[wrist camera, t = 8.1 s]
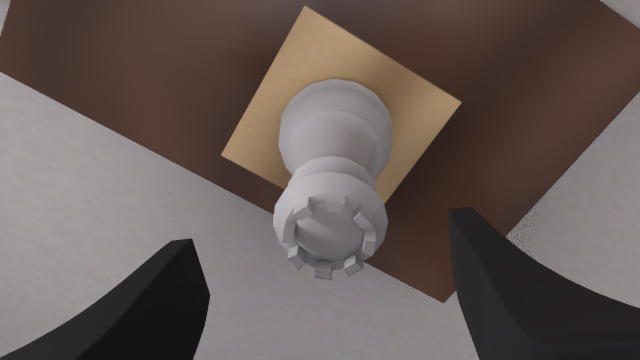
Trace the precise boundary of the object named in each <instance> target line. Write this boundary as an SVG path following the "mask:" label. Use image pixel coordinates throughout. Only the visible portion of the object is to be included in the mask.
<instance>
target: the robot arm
mask: <svg viewBox="0 0 640 360" xmlns="http://www.w3.org/2000/svg"><path fill="white" fill-rule="evenodd" d="M448 217H449V232H450V247H451V262H452V273H453V277H454V282H455V287H456V291H457V295H458V300H459V304H460V306H461V309H462V312H463V315H464V318H465V321H466V323H467V326H468V329H469V332H470V334H471V337H472V340H473V343H474V346H475V348H476V351H477V354H478V357H479V359H480V360H640V308H637V307H634V306H631V305H628V304H625V303H622V302H620V301H617V300H614V299H611V298H609V297H606V296H604V295H601V294H599V293H596V292H594V291H592V290H589V289H587V288H585V287H583V286H581V285H579V284H576V283H574V282H572V281H570V280H568V279H566V278H564V277H563V276H561V275H559V274H557V273H556V272H554V271H552V270H550V269H549V268H547V267H545V266H544V265H542V264H540V263H539V262H537V261H536V260H534V259H533V258H531V257H530V256H529V255H527V254H526V253H524V252H523V251H522V250H520V249H519V248H518V247H516V246H515V245H514V244H513V243H511V242H510V241H509V240H508V239H507V238H505V237H504V236H503V235H502V234H501V233H499V232H498V231H497V230H496V229H495V228H494V227H493V226H492V225H491V224H489V223H488V222H487V221H486V220H485V219H484V218H483V217H482V216H481V215H480V214H479V213H478V212H477V211H476V210H475V209H473V208H472V207H463V208H455V209H448ZM209 300H210V293H209V290H208V287H207V283H206V280H205V277H204V274H203V271H202V268H201V265H200V262H199V259H198V256H197V252H196V249H195V246H194V243H193V240H192V239H183V240H175V241H171V242H169V243H168V244H166V245H165V246H164V247H163V248H161V249H160V250H159V251H158V252H156V253H155V254H154V255H153V256H152V257H151V258H149V259H148V260H147V261H146V262H145V263H144V264H142V265H141V266H140V267H139V268H138V269H136V270H135V271H134V272H133V273H132V274H131V275H129V276H128V277H127V278H126V279H125V280H123V281H122V282H121V283H120V284H118V285H117V286H116V287H115V288H113V289H112V290H111V291H109V292H108V293H107V294H106V295H104V296H103V297H102V298H100V299H99V300H98V301H97V302H95V303H94V304H92V305H91V306H90V307H88V308H87V309H85V310H84V311H83V312H81V313H80V314H78V315H76V316H75V317H73V318H72V319H70V320H69V321H67V322H66V323H64V324H62V325H61V326H59V327H57V328H56V329H54V330H52V331H50V332H49V333H47V334H45V335H43V336H42V337H40V338H38V339H36V340H34V341H33V342H31V343H29V344H27V345H25V346H23V347H21V348H19V349H17V350H15V351H13V352H11V353H9V354H7V355H5V356H3V357H0V360H193V358H194V355H195V353H196V350H197V347H198V344H199V341H200V338H201V335H202V332H203V329H204V326H205V321H206V316H207V311H208V306H209Z"/></svg>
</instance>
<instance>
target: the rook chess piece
mask: <svg viewBox="0 0 640 360" xmlns="http://www.w3.org/2000/svg"><path fill="white" fill-rule="evenodd" d="M392 136H393V128H392V123H391V119H390V114H389V111H388V109H387V108H386V107H385V105H384V104H383V103H382V101H381V100H380V99H379V97H378V96H377V95H376V93H374V92H372V91H371V90H369V89H367V88H365V87H364V86H362V85H360V84H359V83H357V82H353V81H346V80H339V79H329V80H325V81H321V82H317V83H313V84H310V85H308V86H307V87H306V88H304V89H303V90H302V91H300V92H299V93H297V94H296V95H295V96H293V97H292V99H291V100H290V102H289V104H288V105H287V107H286V109H285V111H284V112H283V114H282V116H281V125H280V135H279V145H278V146H279V149H280V152H281V155H282V158H283V161H284V164H285V167H286V169H287V170H288V171H289V172H290V173H291V174H292V178H291V179H290V181H289V182H288V187H287V188H286V189H285V190H284V192H283V194H282V195H281V197H280V198H279V200H278V202H277V203H276V205H275V210H274V219H273V226H274V229H275V232H276V235H277V238H278V240H279V243H280V244H281V245H282V246H283V247H284V248H285V249H286V251H287V252H288V257H287V258H288V259H289V260H290V261H291V262H292V264H293V265H294V266H295V267H296V268H297V269H298V270H299V269H300V268H301V267H302V266H303V265H305V264H307V265H309V266H311V267H314V268H315V272H314V278H320V279H328V280H331V278H332V270H335V269H341V268H344V270H345V272H346V273H347V275H348V277H349V276H351V275H353V274H355V273H356V272H358V271H360V270H362V269H363V261H364V260H365V259H367V258H369V257H371V256H373V254H374V252H375V251H376V250H377V249H378V247H379V246H380V245H381V243H382V242H383V241H384V238H385V233H386V229H387V225H388V219H387V215H386V210H385V206H384V202H383V201H382V200H381V199H380V197H379V196H378V194H377V190H376V186H375V182H374V181H375V180H376V179H377V177H378V176H379V175H380V173H381V172H382V170H383V169H384V168H385V166H386V165H387V163H388V162H389V158H390V153H391V148H392V144H393V138H392Z"/></svg>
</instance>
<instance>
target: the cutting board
mask: <svg viewBox="0 0 640 360" xmlns="http://www.w3.org/2000/svg"><path fill="white" fill-rule="evenodd" d="M0 72H2V73H4V74H6V75H8V76H10V77H11V78H13V79H15V80H17V81H19V82H21V83H23V84H25V85H27V86H29V87H31V88H32V89H34V90H36V91H38V92H40V93H42V94H44V95H46V96H48V97H50V98H52V99H54V100H55V101H57V102H59V103H61V104H63V105H65V106H67V107H69V108H71V109H73V110H75V111H77V112H78V113H80V114H82V115H84V116H86V117H88V118H90V119H92V120H94V121H96V122H98V123H99V124H101V125H103V126H105V127H107V128H109V129H111V130H113V131H115V132H117V133H119V134H121V135H122V136H124V137H126V138H128V139H130V140H132V141H134V142H136V143H138V144H140V145H142V146H144V147H145V148H147V149H149V150H151V151H153V152H155V153H157V154H159V155H161V156H163V157H165V158H167V159H168V160H170V161H172V162H174V163H176V164H178V165H180V166H182V167H184V168H186V169H188V170H189V171H191V172H193V173H195V174H197V175H199V176H201V177H203V178H205V179H207V180H209V181H211V182H212V183H214V184H216V185H218V186H220V187H222V188H224V189H226V190H228V191H230V192H232V193H234V194H235V195H237V196H239V197H241V198H243V199H245V200H247V201H249V202H251V203H253V204H255V205H256V206H258V207H260V208H262V209H264V210H266V211H268V212H270V213H272V214H274V210H275V205H276V203H277V202H278V200H279V198H280V197H281V195H282V194H283V192H284V190H285V189H286V188H287V187H288V182H289V181H290V179H291V178H292V174H291V173H290V172H289V171H288V170H287V169H286V167H285V164H284V161H283V158H282V155H281V152H280V149H279V146H278V145H279V135H280V125H281V116H282V114H283V112H284V111H285V109H286V107H287V105H288V104H289V102H290V100H291V99H292V97H293V96H295V95H296V94H297V93H299V92H300V91H302V90H303V89H304V88H306V87H307V86H308V85H310V84H313V83H317V82H321V81H325V80H329V79H339V80H346V81H353V82H357V83H359V84H360V85H362V86H364V87H365V88H367V89H369V90H371V91H372V92H374V93H376V95H377V96H378V97H379V99H380V100H381V101H382V103H383V104H384V105H385V107H386V108H387V109H388V111H389V114H390V119H391V123H392V128H393V136H392V138H393V144H392V148H391V153H390V158H389V162H388V163H387V165H386V166H385V168H384V169H383V170H382V172H381V173H380V175H379V176H378V177H377V179H376V180H375V181H374V182H375V186H376V190H377V194H378V196H379V197H380V199H381V200H382V201H383V202H384V206H385V210H386V215H387V219H388V225H387V229H386V233H385V238H384V241H383V242H382V243H381V245H380V246H379V247H378V249H377V250H376V251H375V252H374V254H373V256H371V257H369V258H367V259H365V260H364V262H366V263H368V264H369V265H371V266H373V267H375V268H377V269H379V270H381V271H383V272H385V273H387V274H389V275H391V276H392V277H394V278H396V279H398V280H400V281H402V282H404V283H406V284H408V285H410V286H412V287H413V288H415V289H417V290H419V291H421V292H423V293H425V294H427V295H429V296H431V297H433V298H435V299H436V300H438V301H440V302H442V303H445V302H446V301H447V299H448V298H449V297H450V296H451V295H452V294H453V293H454V292H455V291H456V287H455V282H454V277H453V273H452V262H451V247H450V232H449V217H448V209H455V208H463V207H472V208H473V209H475V210H476V211H477V212H478V213H479V214H480V215H481V216H482V217H483V218H484V219H485V220H486V221H487V222H488V223H489V224H491V225H492V226H493V227H494V228H495V229H496V230H497V231H498V232H499V233H501V234H502V235H503V236H504V237H506V236H507V234H508V233H509V232H510V231H511V230H512V229H513V228H514V227H515V226H516V225H517V224H518V222H519V221H520V220H521V219H522V218H523V217H524V216H525V215H526V214H527V213H528V212H529V211H530V209H531V208H532V207H533V206H534V205H535V204H536V203H537V202H538V201H539V200H540V199H541V198H542V196H543V195H544V194H545V193H546V192H547V191H548V190H549V189H550V188H551V187H552V186H553V185H554V183H555V182H556V181H557V180H558V179H559V178H560V177H561V176H562V175H563V174H564V173H565V172H566V170H567V169H568V168H569V167H570V166H571V165H572V164H573V163H574V162H575V161H576V160H577V159H578V157H579V156H580V155H581V154H582V153H583V152H584V151H585V150H586V149H587V148H588V147H589V146H590V144H591V143H592V142H593V141H594V140H595V139H596V138H597V137H598V136H599V135H600V134H601V133H602V131H603V130H604V129H605V128H606V127H607V126H608V125H609V124H610V123H611V122H612V121H613V120H614V118H615V117H616V116H617V115H618V114H619V113H620V112H621V111H622V110H623V109H624V108H625V107H626V105H627V104H628V103H629V102H630V101H631V100H632V99H633V98H634V97H635V96H636V95H637V93H638V92H639V91H640V29H639V28H638V27H637V26H635V25H634V24H632V23H631V22H630V21H628V20H627V19H625V18H624V17H622V16H621V15H620V14H618V13H617V12H615V11H614V10H613V9H611V8H610V7H608V6H607V5H605V4H604V3H603V2H601V1H600V0H11V2H10V5H9V8H8V12H7V15H6V19H5V22H4V25H3V29H2V32H1V35H0Z"/></svg>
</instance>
